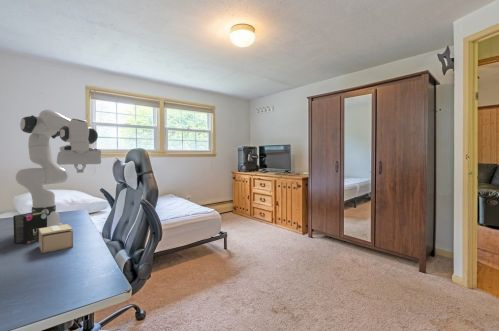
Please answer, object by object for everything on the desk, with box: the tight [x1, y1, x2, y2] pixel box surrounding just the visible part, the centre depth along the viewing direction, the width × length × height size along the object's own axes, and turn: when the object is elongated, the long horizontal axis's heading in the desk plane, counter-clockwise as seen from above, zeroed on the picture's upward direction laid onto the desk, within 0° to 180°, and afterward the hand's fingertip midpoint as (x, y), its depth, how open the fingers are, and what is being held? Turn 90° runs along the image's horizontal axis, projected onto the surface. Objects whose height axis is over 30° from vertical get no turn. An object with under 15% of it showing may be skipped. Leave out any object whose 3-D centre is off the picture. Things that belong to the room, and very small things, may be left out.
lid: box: [39, 223, 74, 235], centre depth 123 cm, size 14×12×1 cm
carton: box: [38, 230, 74, 254], centre depth 123 cm, size 14×12×8 cm
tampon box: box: [13, 211, 47, 245], centre depth 133 cm, size 11×9×15 cm
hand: (80, 172), depth 135 cm, fingers closed
